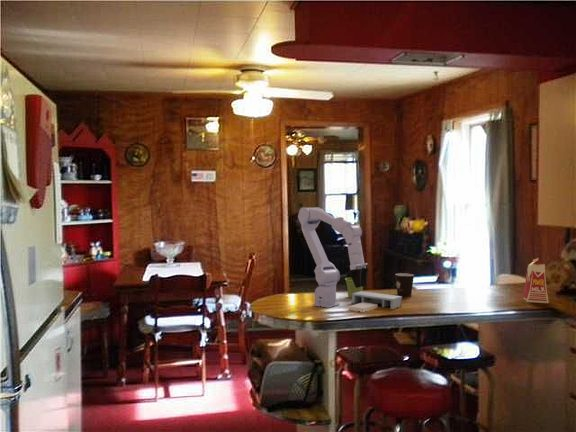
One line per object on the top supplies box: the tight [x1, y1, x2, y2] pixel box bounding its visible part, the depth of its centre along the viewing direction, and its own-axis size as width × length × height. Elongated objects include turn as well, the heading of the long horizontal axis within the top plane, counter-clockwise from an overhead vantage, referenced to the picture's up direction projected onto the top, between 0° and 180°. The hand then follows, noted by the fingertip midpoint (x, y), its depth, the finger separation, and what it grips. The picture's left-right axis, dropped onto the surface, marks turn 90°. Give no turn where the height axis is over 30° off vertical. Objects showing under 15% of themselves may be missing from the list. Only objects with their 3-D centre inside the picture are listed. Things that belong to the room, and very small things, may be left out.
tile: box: [348, 301, 379, 313], centre depth 240 cm, size 12×7×2 cm, turn 143°
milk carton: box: [523, 257, 549, 304], centre depth 261 cm, size 9×9×20 cm
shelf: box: [351, 290, 403, 310], centre depth 249 cm, size 8×20×4 cm, turn 52°
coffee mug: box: [393, 272, 415, 298], centre depth 272 cm, size 12×9×10 cm
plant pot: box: [344, 277, 364, 299], centre depth 266 cm, size 9×9×9 cm
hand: (361, 286), depth 233 cm, fingers open, 7 cm apart
